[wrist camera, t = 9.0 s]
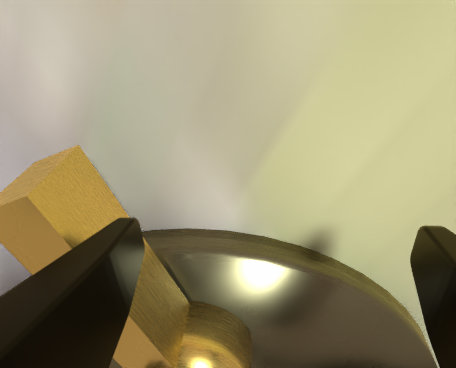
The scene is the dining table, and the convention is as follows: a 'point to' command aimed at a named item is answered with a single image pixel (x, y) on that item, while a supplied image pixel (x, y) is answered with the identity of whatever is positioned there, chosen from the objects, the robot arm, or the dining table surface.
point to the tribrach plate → (292, 301)
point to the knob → (148, 277)
